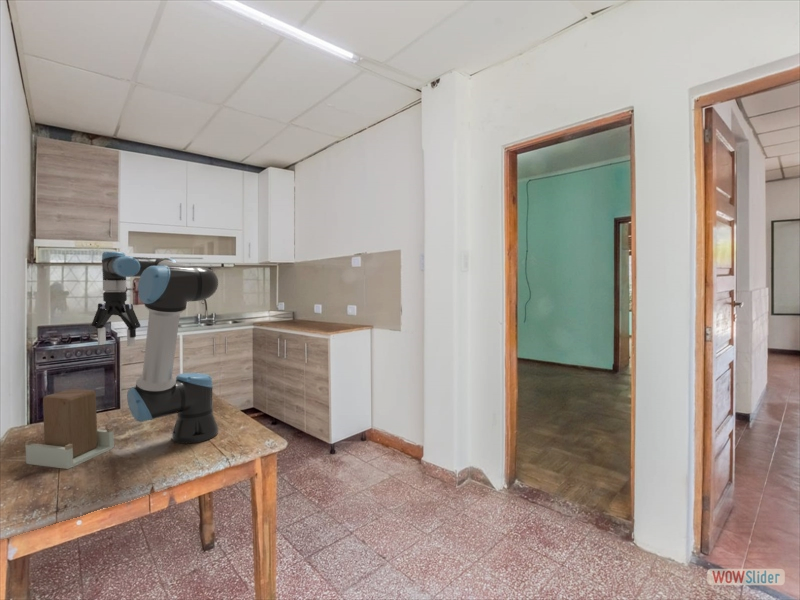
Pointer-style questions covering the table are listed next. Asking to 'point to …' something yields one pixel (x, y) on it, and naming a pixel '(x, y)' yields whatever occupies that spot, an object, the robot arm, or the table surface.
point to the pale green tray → (66, 452)
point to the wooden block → (71, 420)
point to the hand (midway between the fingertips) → (116, 345)
